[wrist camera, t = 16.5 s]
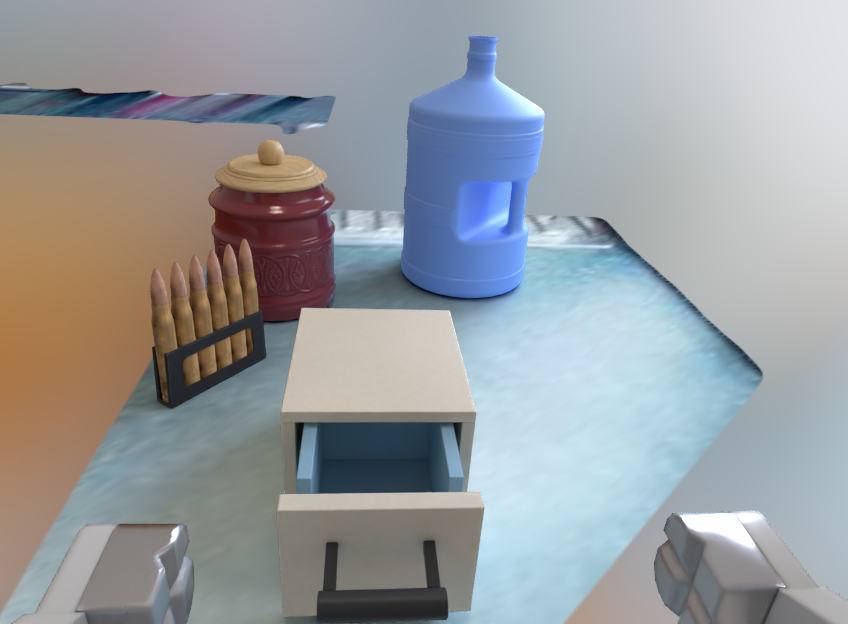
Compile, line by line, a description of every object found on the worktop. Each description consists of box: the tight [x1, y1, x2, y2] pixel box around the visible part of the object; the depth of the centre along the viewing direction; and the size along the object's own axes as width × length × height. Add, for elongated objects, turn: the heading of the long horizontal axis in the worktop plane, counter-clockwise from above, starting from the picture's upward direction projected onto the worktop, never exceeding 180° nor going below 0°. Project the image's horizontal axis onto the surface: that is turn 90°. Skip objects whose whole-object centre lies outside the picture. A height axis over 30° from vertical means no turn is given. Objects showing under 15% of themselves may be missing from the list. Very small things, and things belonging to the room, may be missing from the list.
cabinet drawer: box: [277, 422, 484, 624], centre depth 37 cm, size 17×10×8 cm, turn 5°
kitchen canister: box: [208, 140, 336, 321], centre depth 68 cm, size 13×13×18 cm
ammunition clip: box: [150, 239, 266, 408], centre depth 54 cm, size 11×2×12 cm, turn 147°
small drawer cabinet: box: [281, 308, 476, 494], centre depth 45 cm, size 14×12×10 cm
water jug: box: [401, 36, 545, 298], centre depth 74 cm, size 16×16×28 cm
